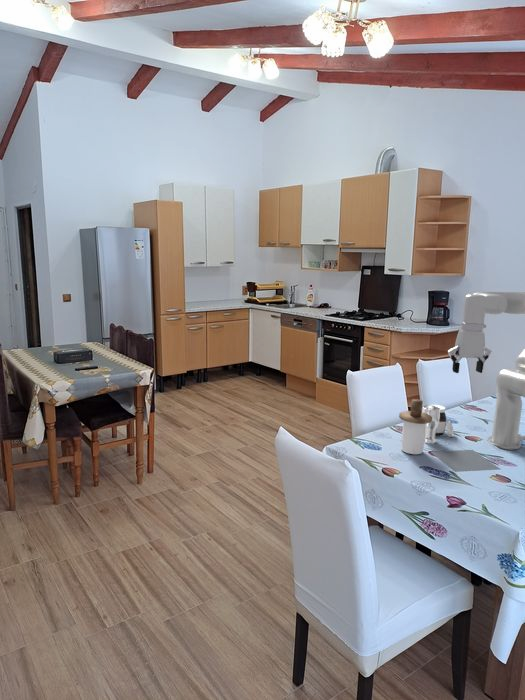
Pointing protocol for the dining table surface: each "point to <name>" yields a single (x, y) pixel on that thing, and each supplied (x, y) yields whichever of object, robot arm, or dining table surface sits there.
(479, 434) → the dining table surface
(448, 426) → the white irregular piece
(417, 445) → the cup
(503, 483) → the dining table surface
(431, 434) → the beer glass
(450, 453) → the mat
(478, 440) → the dining table surface
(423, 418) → the lid
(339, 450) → the dining table surface
